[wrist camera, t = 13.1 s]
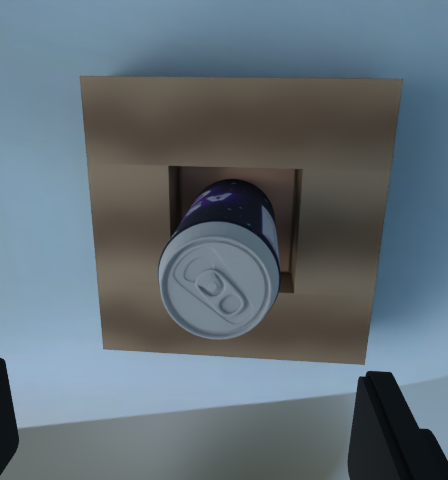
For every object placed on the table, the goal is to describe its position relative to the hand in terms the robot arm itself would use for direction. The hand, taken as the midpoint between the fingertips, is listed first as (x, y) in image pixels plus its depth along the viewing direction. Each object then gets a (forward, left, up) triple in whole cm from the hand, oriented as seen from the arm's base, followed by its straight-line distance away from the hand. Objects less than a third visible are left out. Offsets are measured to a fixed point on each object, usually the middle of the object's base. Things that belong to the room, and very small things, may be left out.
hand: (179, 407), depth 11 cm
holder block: (0, 0, -21) cm, 21 cm away
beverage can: (0, 0, -20) cm, 20 cm away
